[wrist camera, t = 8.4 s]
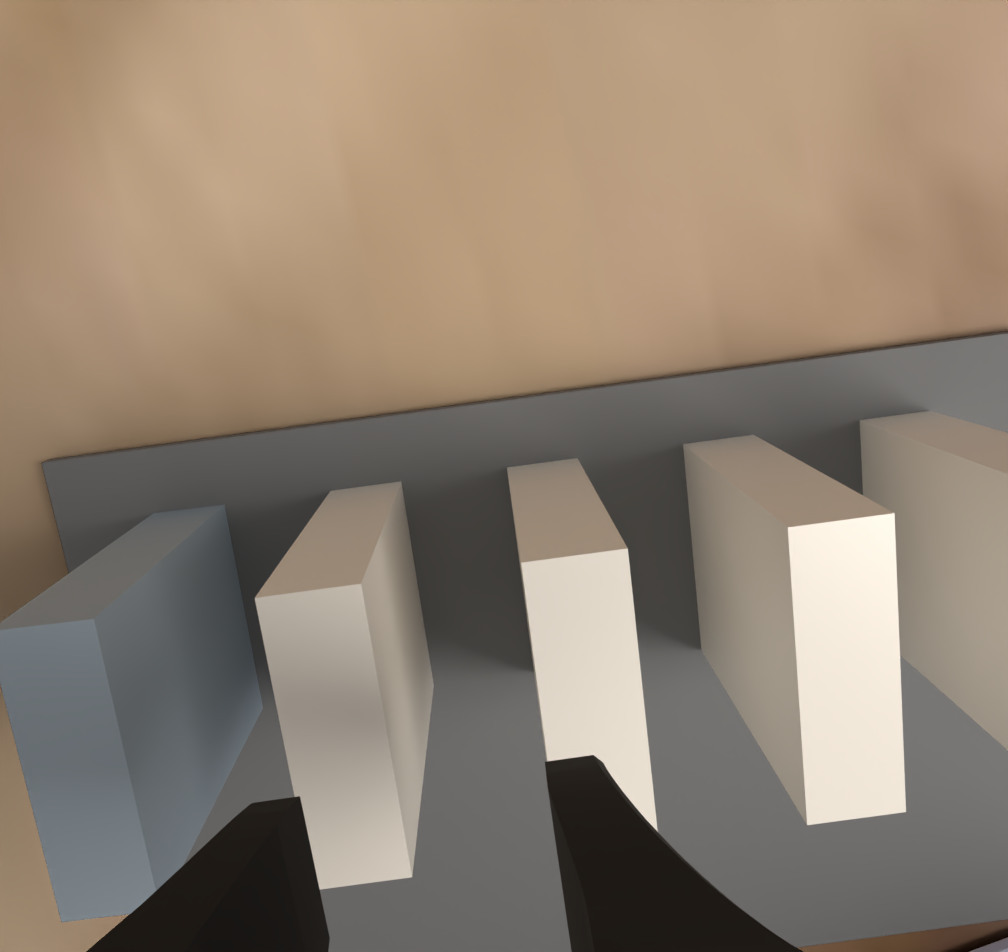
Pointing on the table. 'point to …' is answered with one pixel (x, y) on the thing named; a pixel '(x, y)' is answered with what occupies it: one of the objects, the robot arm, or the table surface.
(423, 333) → the table surface
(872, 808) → the tile
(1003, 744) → the tile
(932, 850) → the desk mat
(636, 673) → the tile
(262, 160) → the table surface
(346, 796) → the tile
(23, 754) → the end tile
